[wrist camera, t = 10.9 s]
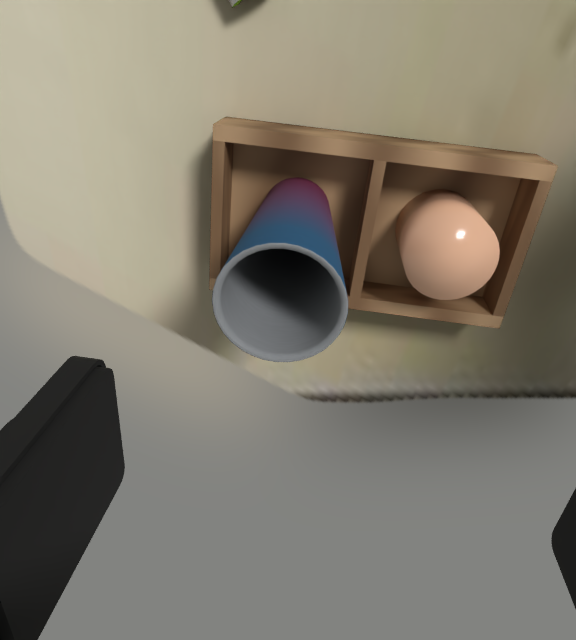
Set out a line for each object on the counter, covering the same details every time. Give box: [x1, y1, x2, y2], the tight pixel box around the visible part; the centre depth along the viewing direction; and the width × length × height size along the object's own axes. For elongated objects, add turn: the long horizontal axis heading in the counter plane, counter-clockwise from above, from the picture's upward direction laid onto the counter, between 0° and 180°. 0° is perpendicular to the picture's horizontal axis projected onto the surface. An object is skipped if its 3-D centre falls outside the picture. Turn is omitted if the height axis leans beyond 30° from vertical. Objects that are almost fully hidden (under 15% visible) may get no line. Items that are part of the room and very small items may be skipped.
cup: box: [212, 177, 348, 362], centre depth 31 cm, size 7×7×15 cm
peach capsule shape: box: [395, 189, 500, 300], centre depth 34 cm, size 6×6×6 cm
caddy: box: [209, 117, 558, 328], centre depth 36 cm, size 22×12×4 cm, turn 84°
